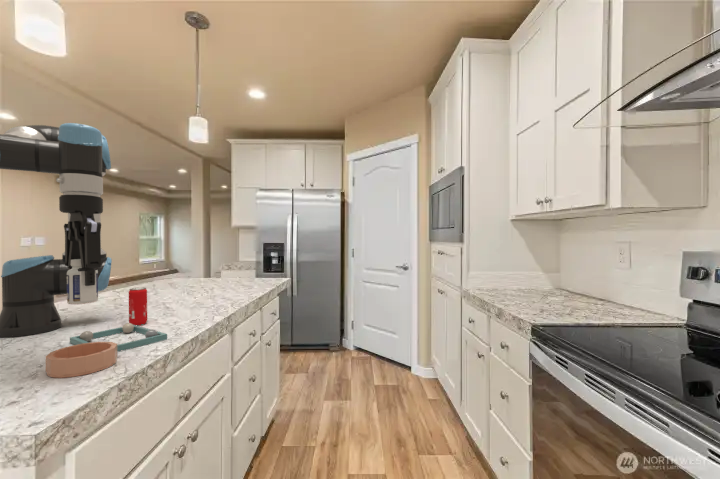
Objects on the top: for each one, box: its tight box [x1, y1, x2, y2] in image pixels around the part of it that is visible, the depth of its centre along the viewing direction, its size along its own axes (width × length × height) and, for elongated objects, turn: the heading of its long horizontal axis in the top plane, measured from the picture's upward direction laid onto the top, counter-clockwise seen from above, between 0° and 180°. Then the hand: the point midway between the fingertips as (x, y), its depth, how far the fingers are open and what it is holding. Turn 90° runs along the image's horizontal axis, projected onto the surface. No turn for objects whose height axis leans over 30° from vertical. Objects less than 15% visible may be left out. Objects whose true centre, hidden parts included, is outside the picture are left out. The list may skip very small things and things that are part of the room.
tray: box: [69, 325, 168, 352], centre depth 95 cm, size 20×16×2 cm
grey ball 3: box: [144, 328, 158, 338], centre depth 95 cm, size 3×3×3 cm
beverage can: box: [128, 287, 148, 326], centre depth 113 cm, size 5×5×12 cm
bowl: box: [45, 341, 118, 379], centre depth 76 cm, size 12×12×4 cm
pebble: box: [121, 322, 134, 334], centre depth 103 cm, size 3×3×3 cm
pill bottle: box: [66, 259, 99, 306], centre depth 75 cm, size 5×5×10 cm
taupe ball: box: [79, 330, 94, 343], centre depth 94 cm, size 3×3×3 cm
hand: (82, 299), depth 75 cm, fingers closed on pill bottle, 5 cm apart
